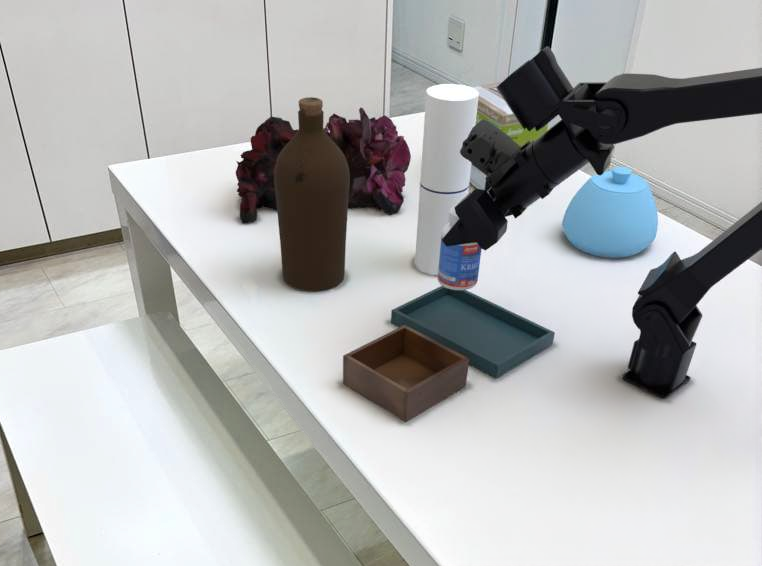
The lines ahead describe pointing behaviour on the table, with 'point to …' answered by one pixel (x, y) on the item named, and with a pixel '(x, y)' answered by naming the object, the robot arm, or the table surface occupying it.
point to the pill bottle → (458, 261)
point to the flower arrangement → (360, 147)
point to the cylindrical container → (442, 166)
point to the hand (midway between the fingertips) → (452, 234)
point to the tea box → (499, 124)
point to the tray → (474, 329)
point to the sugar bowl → (612, 215)
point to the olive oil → (312, 204)
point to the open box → (405, 372)
